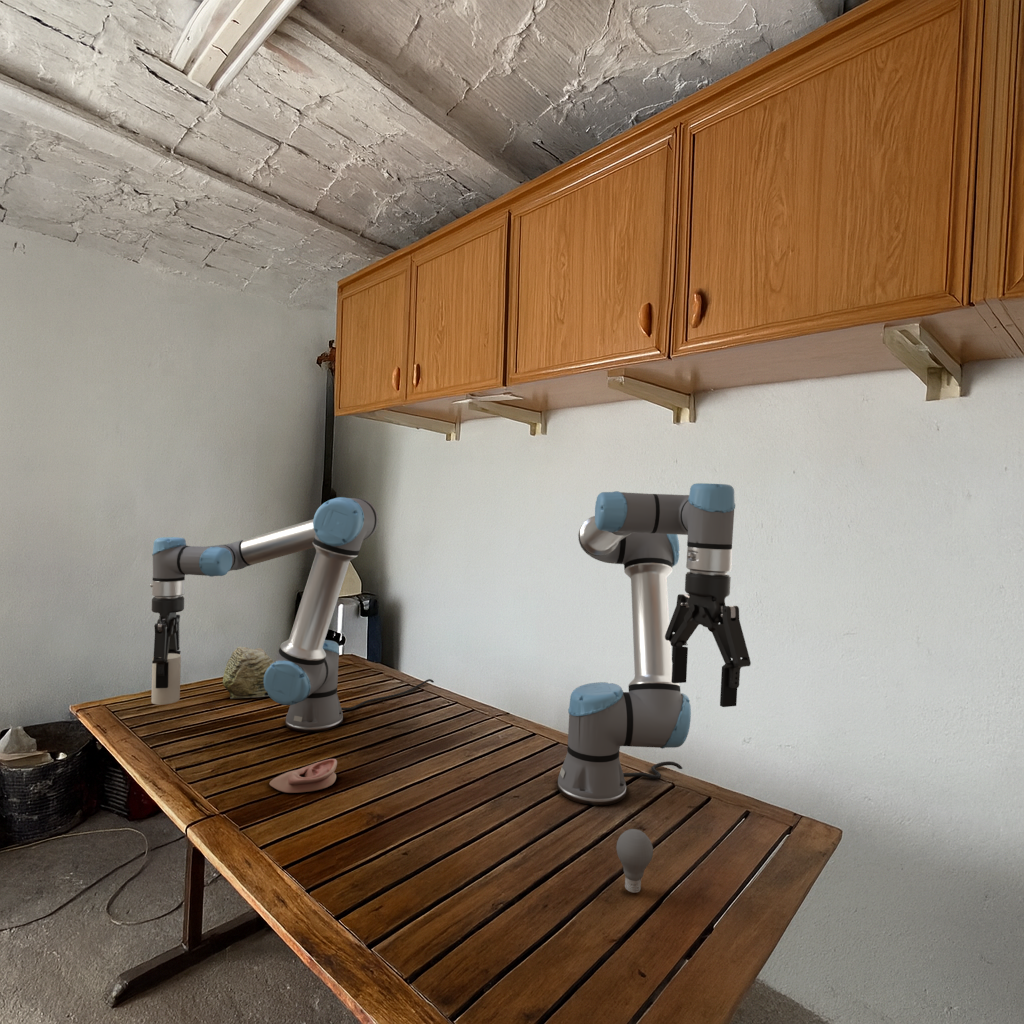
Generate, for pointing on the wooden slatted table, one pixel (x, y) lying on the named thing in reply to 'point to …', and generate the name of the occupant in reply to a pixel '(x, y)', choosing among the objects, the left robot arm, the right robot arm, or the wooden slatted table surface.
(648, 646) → the right robot arm
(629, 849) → the light bulb
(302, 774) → the anatomical model
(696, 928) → the wooden slatted table surface
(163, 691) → the canister
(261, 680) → the fossil
